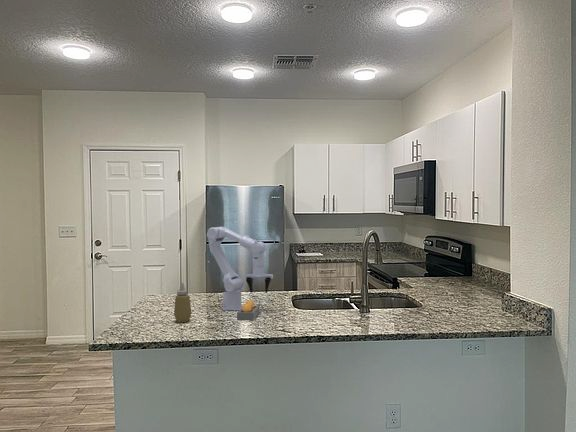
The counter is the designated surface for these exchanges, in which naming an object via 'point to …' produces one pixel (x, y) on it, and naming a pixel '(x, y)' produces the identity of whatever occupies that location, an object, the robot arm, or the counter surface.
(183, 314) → the squeeze bottle
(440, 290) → the counter surface
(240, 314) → the housing
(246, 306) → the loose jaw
